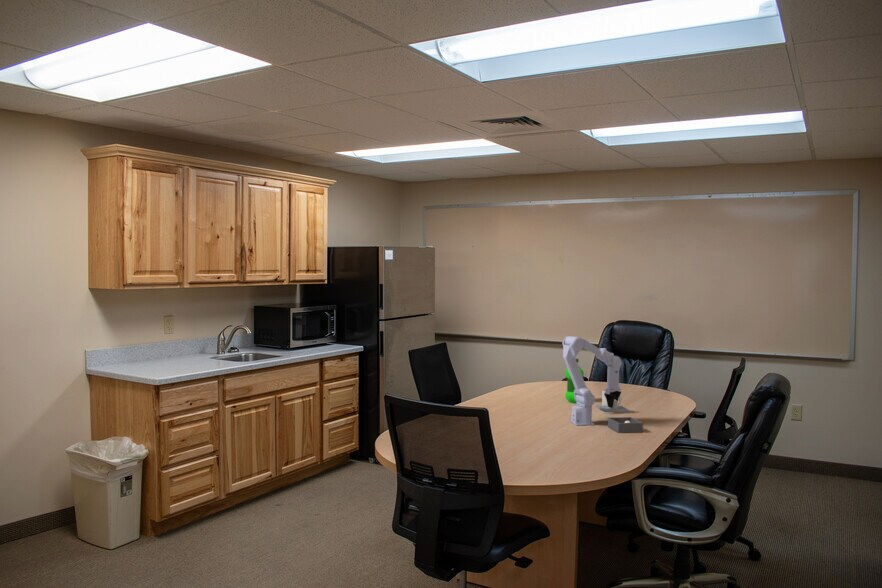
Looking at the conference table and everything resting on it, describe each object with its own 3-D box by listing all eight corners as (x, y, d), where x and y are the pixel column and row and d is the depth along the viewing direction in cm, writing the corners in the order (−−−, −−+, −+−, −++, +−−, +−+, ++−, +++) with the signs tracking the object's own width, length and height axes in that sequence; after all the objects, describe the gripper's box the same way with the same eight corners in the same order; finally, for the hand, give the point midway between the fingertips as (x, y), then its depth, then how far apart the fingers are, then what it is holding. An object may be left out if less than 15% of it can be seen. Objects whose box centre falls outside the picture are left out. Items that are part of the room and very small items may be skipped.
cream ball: (625, 428, 311) (626, 421, 311) (623, 426, 314) (623, 419, 314) (632, 427, 312) (632, 421, 311) (629, 426, 315) (629, 419, 315)
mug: (601, 413, 345) (602, 391, 344) (601, 411, 351) (601, 388, 351) (621, 414, 343) (622, 392, 342) (620, 412, 349) (621, 389, 349)
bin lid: (604, 412, 320) (604, 402, 320) (596, 407, 333) (596, 397, 332) (630, 412, 321) (630, 402, 320) (620, 406, 334) (621, 397, 333)
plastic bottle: (581, 400, 379) (582, 357, 378) (583, 404, 368) (584, 360, 367) (564, 400, 380) (565, 357, 379) (565, 403, 369) (566, 359, 368)
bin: (618, 433, 303) (618, 423, 303) (607, 426, 315) (608, 417, 315) (642, 432, 305) (642, 422, 305) (631, 426, 317) (631, 417, 317)
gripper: (615, 382, 318) (614, 409, 318) (626, 378, 330) (625, 405, 330) (601, 380, 322) (601, 407, 323) (612, 377, 334) (611, 403, 334)
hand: (612, 406), depth 327 cm, fingers closed on bin lid, 5 cm apart
